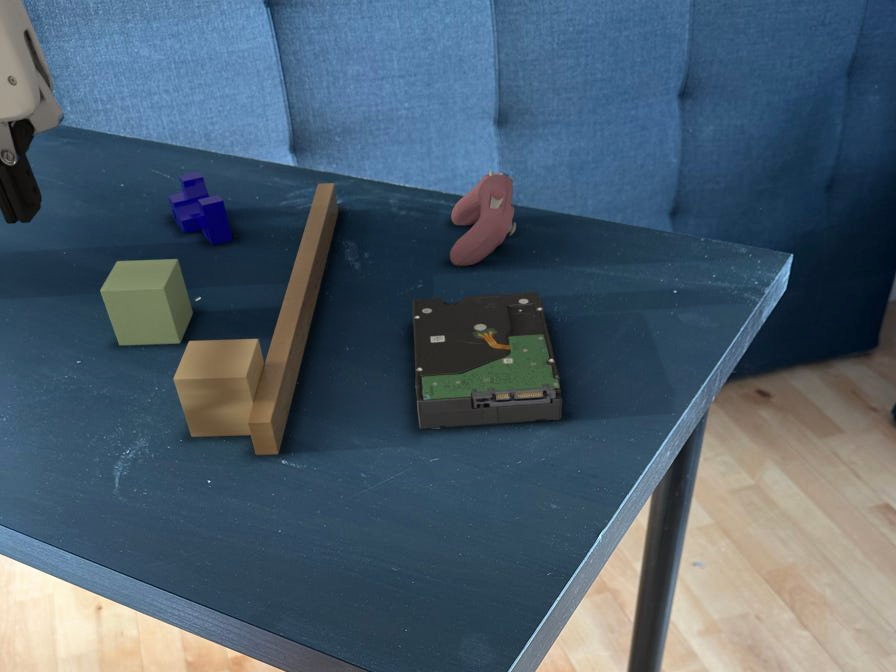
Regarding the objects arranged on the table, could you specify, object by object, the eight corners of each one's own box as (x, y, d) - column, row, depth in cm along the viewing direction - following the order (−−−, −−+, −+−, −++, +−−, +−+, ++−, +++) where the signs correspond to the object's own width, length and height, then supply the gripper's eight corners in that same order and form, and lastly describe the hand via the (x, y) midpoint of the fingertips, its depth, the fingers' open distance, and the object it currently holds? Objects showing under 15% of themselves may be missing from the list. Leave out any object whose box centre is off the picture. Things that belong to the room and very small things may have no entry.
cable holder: (174, 221, 92) (163, 179, 89) (209, 213, 93) (198, 171, 90) (197, 252, 87) (186, 209, 84) (233, 243, 88) (223, 200, 85)
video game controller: (492, 285, 84) (527, 213, 79) (445, 265, 82) (478, 190, 78) (491, 237, 91) (523, 168, 86) (447, 217, 89) (478, 146, 85)
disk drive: (412, 331, 76) (419, 434, 66) (409, 299, 74) (416, 400, 64) (538, 322, 76) (565, 423, 66) (539, 289, 74) (566, 388, 64)
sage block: (120, 349, 76) (99, 290, 72) (135, 318, 79) (116, 260, 75) (181, 347, 76) (163, 288, 72) (194, 316, 79) (178, 258, 75)
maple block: (192, 440, 67) (172, 378, 63) (206, 401, 70) (188, 340, 66) (261, 438, 66) (246, 376, 63) (272, 399, 70) (258, 338, 66)
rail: (256, 458, 65) (247, 422, 63) (322, 215, 92) (317, 183, 90) (279, 458, 65) (270, 421, 63) (339, 214, 92) (334, 182, 90)
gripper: (-251, -68, 55) (-93, 243, 68) (-2, -87, 54) (108, 231, 67) (-188, -93, 60) (-53, 201, 73) (40, -110, 59) (135, 190, 72)
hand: (24, 215), depth 70 cm, fingers closed
